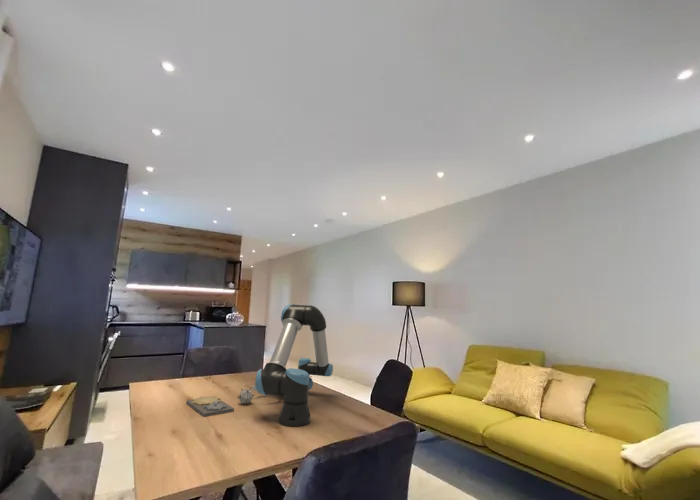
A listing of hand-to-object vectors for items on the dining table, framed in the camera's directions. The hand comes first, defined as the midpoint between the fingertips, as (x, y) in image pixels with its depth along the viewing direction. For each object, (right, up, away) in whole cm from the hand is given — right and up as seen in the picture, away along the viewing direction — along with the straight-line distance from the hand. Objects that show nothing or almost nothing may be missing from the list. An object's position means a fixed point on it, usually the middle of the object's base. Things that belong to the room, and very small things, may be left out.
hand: (257, 390), depth 188 cm
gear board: (-21, -2, -15) cm, 26 cm away
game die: (-5, -5, -6) cm, 9 cm away
